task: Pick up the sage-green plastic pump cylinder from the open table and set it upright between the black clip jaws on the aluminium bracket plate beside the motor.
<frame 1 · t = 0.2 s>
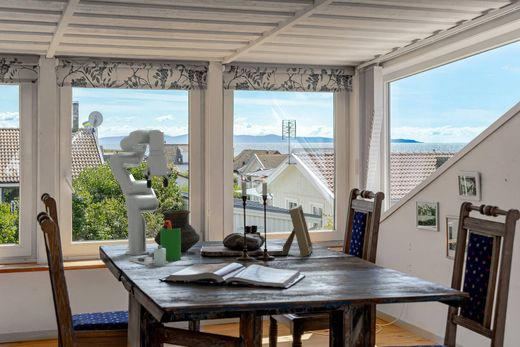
hand: (157, 187, 348), 36 cm above the table, tool pointing down, fingers open, 9 cm apart
photo frame: (297, 254, 361), on the table
motor: (170, 259, 346), on the table
pump: (160, 265, 328), on the table
clip bracket: (148, 262, 338), on the table
ceramic pot: (177, 252, 372), on the table
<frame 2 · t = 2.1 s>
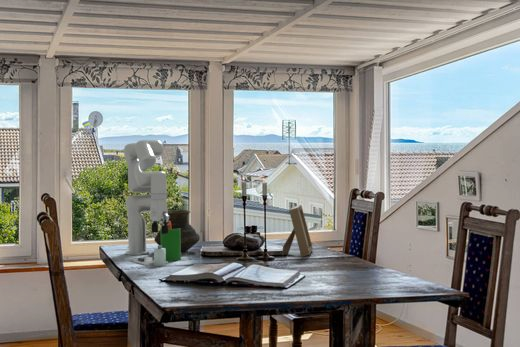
hand: (159, 233, 327), 16 cm above the table, tool pointing down, fingers open, 9 cm apart
nothing on the table moved.
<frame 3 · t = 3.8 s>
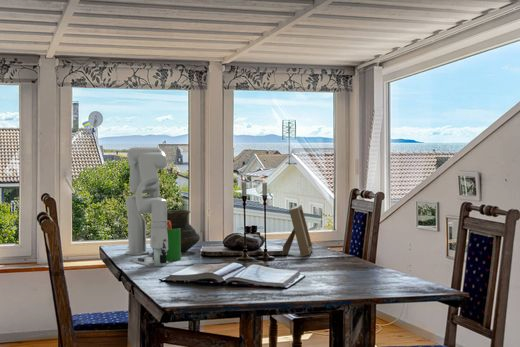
hand: (160, 262, 328), 2 cm above the table, tool pointing down, fingers closed on pump, 5 cm apart
pump: (160, 265, 328), on the table, touching gripper
everything else where it was.
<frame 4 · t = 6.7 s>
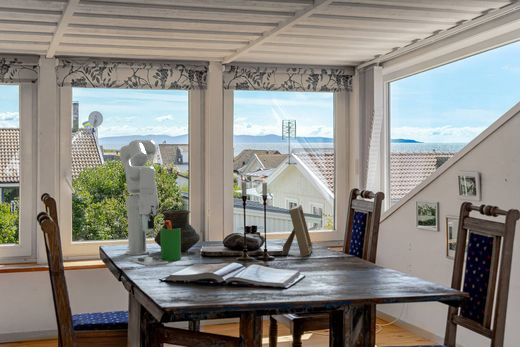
hand: (148, 227, 338), 17 cm above the table, tool pointing down, fingers closed on pump, 5 cm apart
pump: (148, 230, 338), point 15 cm above the table, touching gripper
everything else where it was.
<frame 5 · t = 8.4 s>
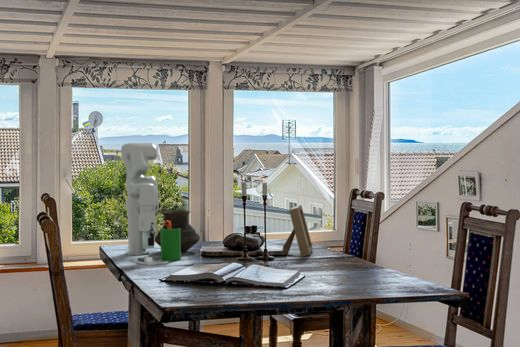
hand: (148, 244, 338), 9 cm above the table, tool pointing down, fingers closed on pump, 5 cm apart
pump: (148, 248, 338), point 7 cm above the table, touching gripper
everything else where it was.
when the fingers open (4 cm above the table, at t = 9.8 s): pump drops 1 cm, resting on clip bracket.
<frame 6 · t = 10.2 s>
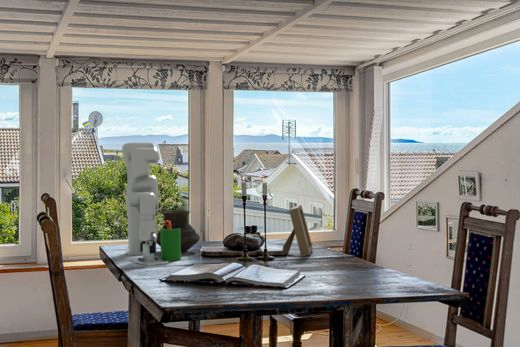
hand: (148, 252, 338), 5 cm above the table, tool pointing down, fingers open, 9 cm apart
pump: (148, 260, 338), point 1 cm above the table, touching clip bracket
everything else where it was.
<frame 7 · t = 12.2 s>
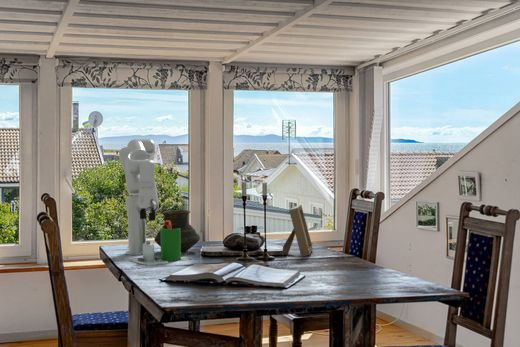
hand: (147, 219, 339), 21 cm above the table, tool pointing down, fingers open, 9 cm apart
nothing on the table moved.
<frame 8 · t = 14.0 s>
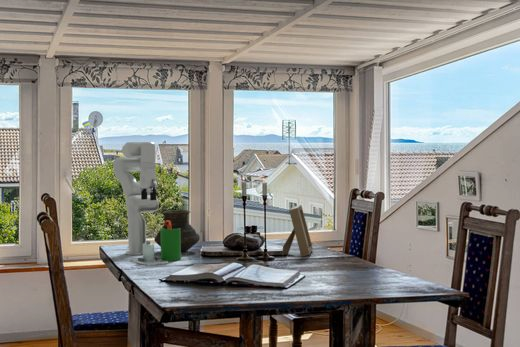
hand: (148, 199, 348), 30 cm above the table, tool pointing down, fingers open, 9 cm apart
nothing on the table moved.
at the end: pump 0.2 cm off-centre on the clip bracket, point 1.0 cm above the clip bracket's base; pump tilted 0°; pump 12.5 cm from the motor (horizontally) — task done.
